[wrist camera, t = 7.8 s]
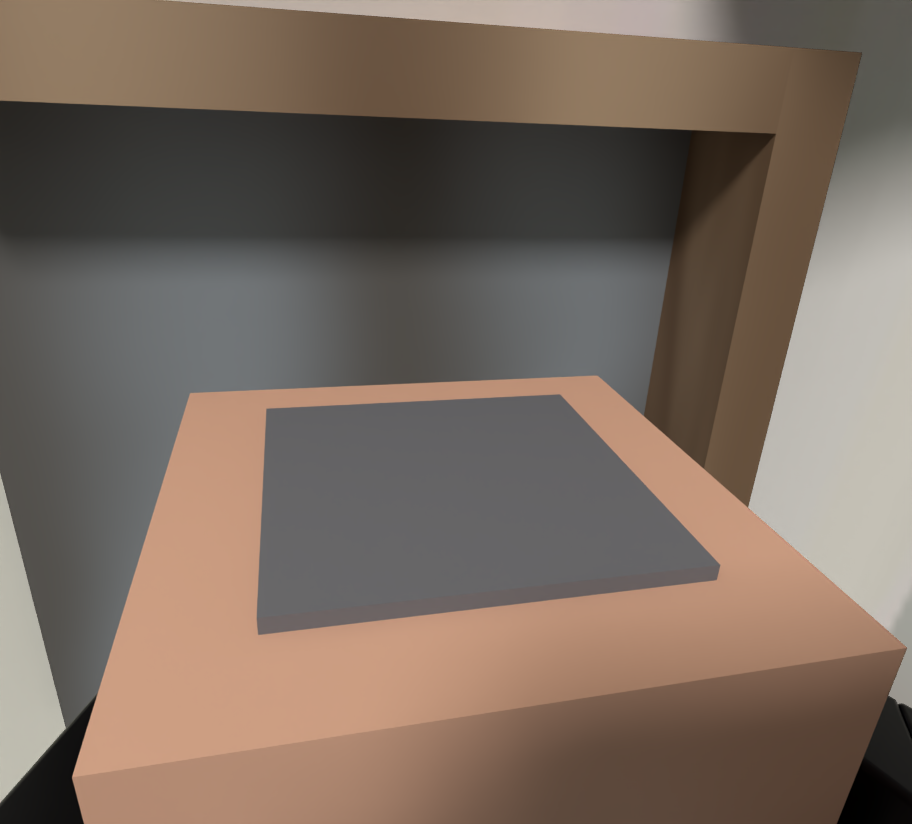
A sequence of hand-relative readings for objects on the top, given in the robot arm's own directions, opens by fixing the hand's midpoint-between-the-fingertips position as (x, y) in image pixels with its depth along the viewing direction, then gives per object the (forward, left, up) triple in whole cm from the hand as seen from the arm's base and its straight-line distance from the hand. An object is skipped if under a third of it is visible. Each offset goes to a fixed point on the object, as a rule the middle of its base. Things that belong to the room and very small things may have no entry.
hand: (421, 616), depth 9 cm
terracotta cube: (0, 0, -1) cm, 1 cm away
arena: (0, -1, -6) cm, 6 cm away
